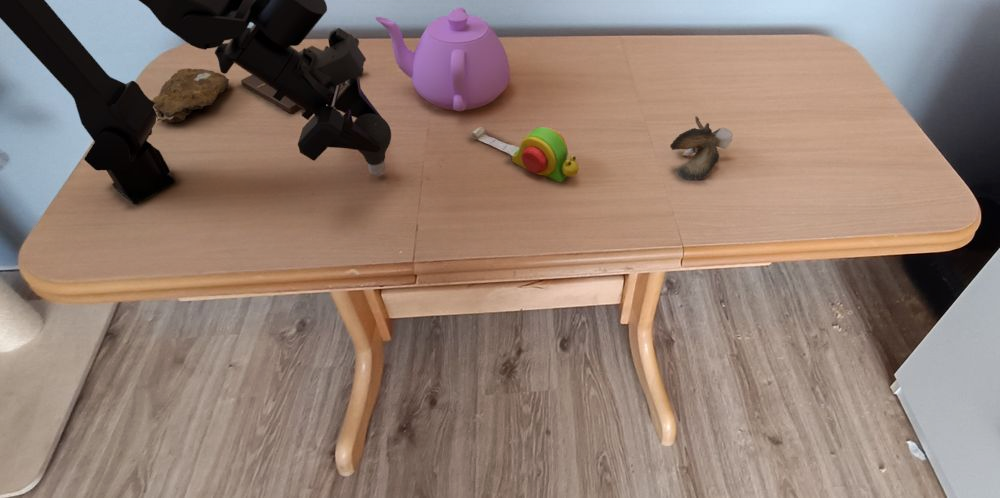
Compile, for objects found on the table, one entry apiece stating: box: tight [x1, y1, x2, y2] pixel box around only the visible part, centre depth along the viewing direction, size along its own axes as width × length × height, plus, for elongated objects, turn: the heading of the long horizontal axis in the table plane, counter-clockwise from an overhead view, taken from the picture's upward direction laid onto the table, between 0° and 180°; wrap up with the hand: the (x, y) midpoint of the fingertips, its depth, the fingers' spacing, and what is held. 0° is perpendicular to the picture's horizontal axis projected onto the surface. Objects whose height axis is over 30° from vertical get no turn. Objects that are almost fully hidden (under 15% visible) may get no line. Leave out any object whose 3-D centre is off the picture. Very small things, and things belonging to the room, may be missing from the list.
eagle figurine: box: [669, 115, 734, 181], centre depth 88 cm, size 8×7×9 cm
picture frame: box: [240, 45, 363, 115], centre depth 106 cm, size 16×14×1 cm
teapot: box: [375, 7, 511, 112], centre depth 99 cm, size 22×22×14 cm
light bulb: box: [353, 114, 392, 176], centre depth 83 cm, size 6×6×10 cm
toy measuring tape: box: [470, 126, 580, 183], centre depth 88 cm, size 6×20×7 cm, turn 51°
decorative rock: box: [151, 68, 230, 124], centre depth 100 cm, size 11×4×15 cm
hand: (381, 137), depth 82 cm, fingers closed on light bulb, 5 cm apart
